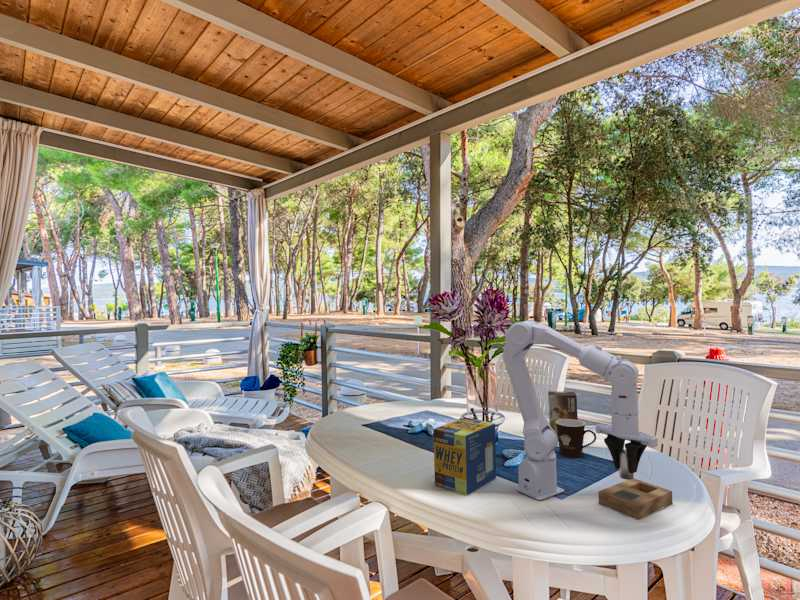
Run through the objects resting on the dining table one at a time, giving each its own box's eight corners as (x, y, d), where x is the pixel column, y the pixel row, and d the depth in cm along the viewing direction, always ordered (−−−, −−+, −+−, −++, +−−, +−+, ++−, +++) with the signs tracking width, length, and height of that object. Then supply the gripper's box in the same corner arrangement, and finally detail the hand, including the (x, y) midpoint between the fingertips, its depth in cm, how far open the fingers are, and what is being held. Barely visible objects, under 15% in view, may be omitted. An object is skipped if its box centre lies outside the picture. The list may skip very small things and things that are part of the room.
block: (638, 519, 107) (637, 506, 107) (598, 503, 115) (598, 491, 115) (672, 503, 114) (672, 491, 114) (632, 489, 123) (632, 478, 123)
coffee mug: (550, 452, 153) (550, 421, 153) (572, 448, 156) (571, 417, 156) (576, 464, 142) (575, 430, 142) (599, 459, 145) (598, 426, 145)
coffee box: (576, 437, 168) (575, 391, 167) (578, 442, 161) (577, 395, 161) (549, 435, 170) (548, 390, 170) (550, 441, 164) (549, 394, 163)
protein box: (434, 486, 129) (432, 428, 128) (466, 469, 140) (464, 416, 140) (466, 496, 122) (465, 435, 122) (497, 477, 133) (496, 422, 133)
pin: (629, 480, 111) (628, 454, 111) (616, 476, 113) (616, 451, 113) (636, 477, 113) (635, 452, 113) (623, 473, 115) (623, 449, 115)
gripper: (664, 416, 109) (665, 475, 109) (607, 404, 121) (608, 457, 121) (646, 421, 105) (648, 482, 105) (589, 408, 117) (590, 463, 117)
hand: (625, 469), depth 113 cm, fingers closed on pin, 3 cm apart
